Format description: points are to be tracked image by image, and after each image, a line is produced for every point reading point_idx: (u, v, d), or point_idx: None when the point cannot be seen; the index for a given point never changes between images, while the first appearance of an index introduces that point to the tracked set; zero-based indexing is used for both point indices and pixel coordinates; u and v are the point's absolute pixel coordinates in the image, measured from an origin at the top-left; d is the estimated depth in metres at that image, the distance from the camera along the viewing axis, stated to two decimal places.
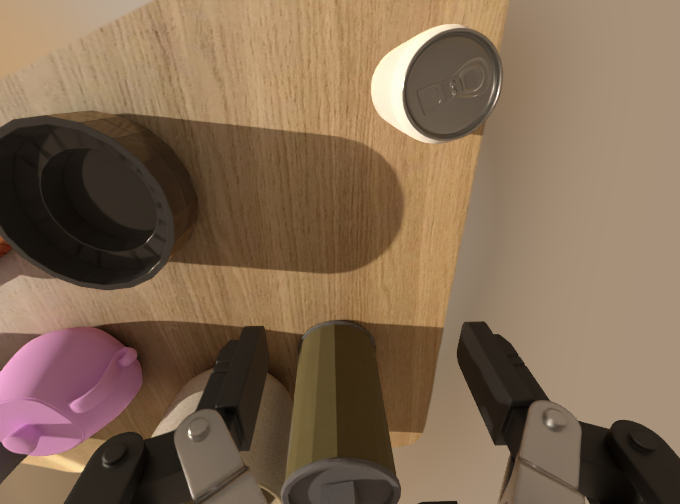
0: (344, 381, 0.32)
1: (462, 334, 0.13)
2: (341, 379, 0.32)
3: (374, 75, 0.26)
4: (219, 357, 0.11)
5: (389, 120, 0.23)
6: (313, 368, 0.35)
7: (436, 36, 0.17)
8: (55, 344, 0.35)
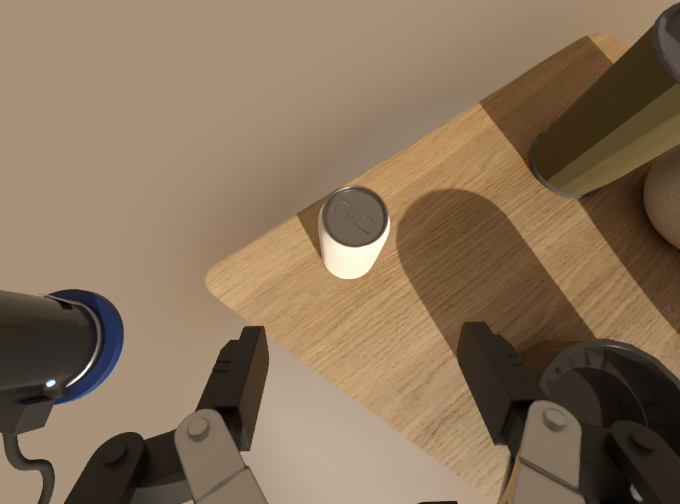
0: (595, 132, 0.33)
1: (462, 334, 0.13)
2: (594, 136, 0.33)
3: (358, 276, 0.36)
4: (219, 357, 0.11)
5: None
6: (605, 166, 0.34)
7: (339, 242, 0.26)
8: None
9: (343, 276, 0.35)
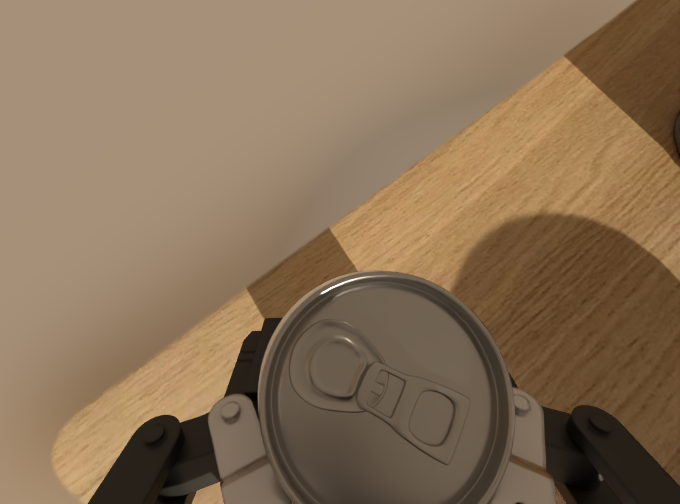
0: None
1: None
2: None
3: None
4: (242, 347, 0.12)
5: None
6: None
7: None
8: None
9: None
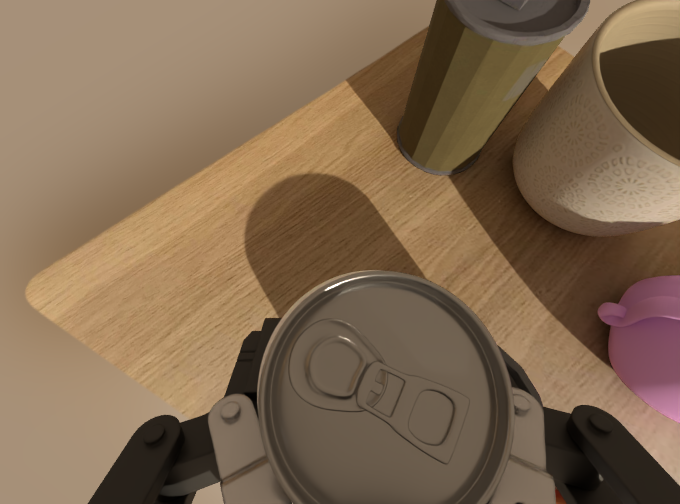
0: (427, 97, 0.29)
1: None
2: (428, 102, 0.29)
3: None
4: (242, 347, 0.12)
5: None
6: (449, 135, 0.31)
7: None
8: (657, 393, 0.27)
9: None
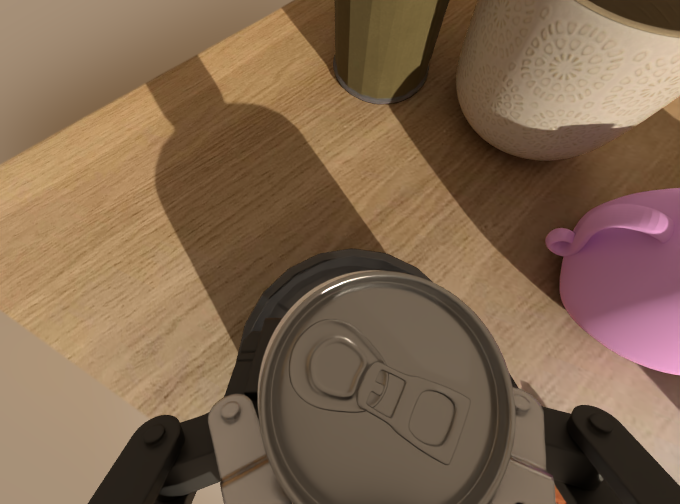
0: None
1: None
2: None
3: None
4: (242, 347, 0.12)
5: None
6: (375, 41, 0.27)
7: None
8: (607, 324, 0.23)
9: None
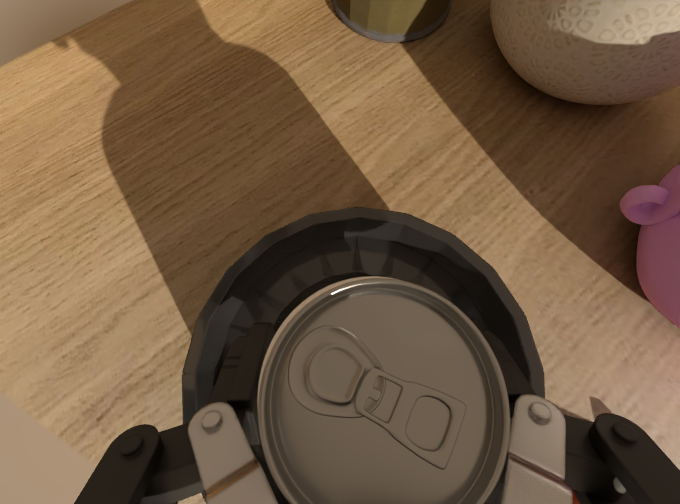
0: None
1: None
2: None
3: None
4: (229, 353, 0.11)
5: None
6: None
7: None
8: None
9: None
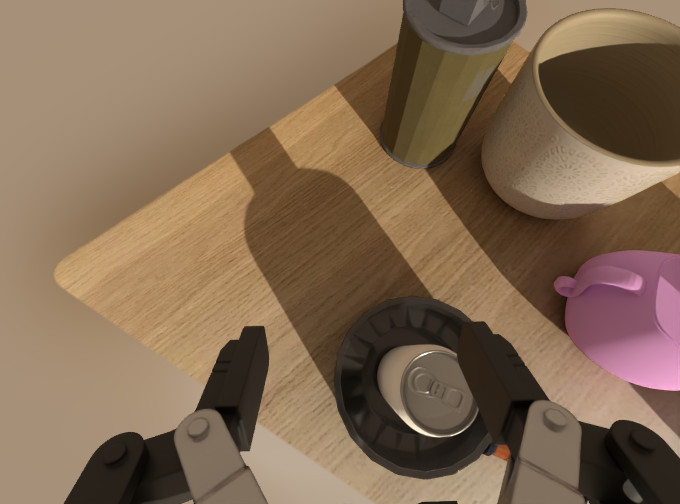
0: (400, 99, 0.34)
1: (462, 334, 0.13)
2: (401, 103, 0.34)
3: None
4: (219, 357, 0.11)
5: None
6: (421, 131, 0.35)
7: (427, 431, 0.21)
8: (600, 351, 0.31)
9: None
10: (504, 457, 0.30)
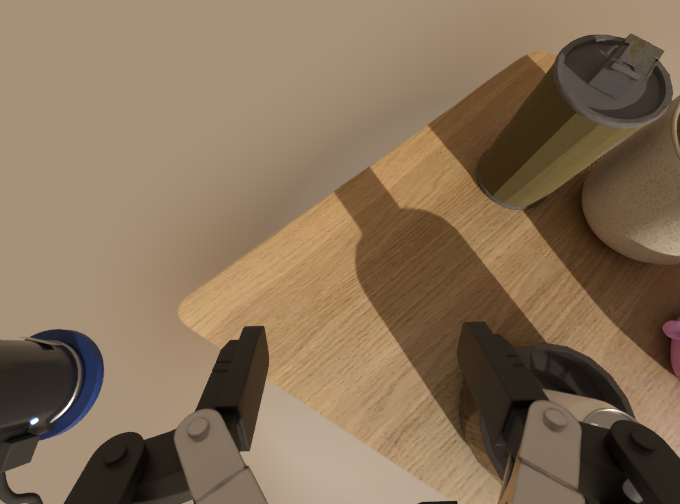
0: (522, 153, 0.36)
1: (462, 334, 0.13)
2: (523, 157, 0.36)
3: None
4: (219, 357, 0.11)
5: None
6: (537, 181, 0.37)
7: None
8: None
9: None
10: None
